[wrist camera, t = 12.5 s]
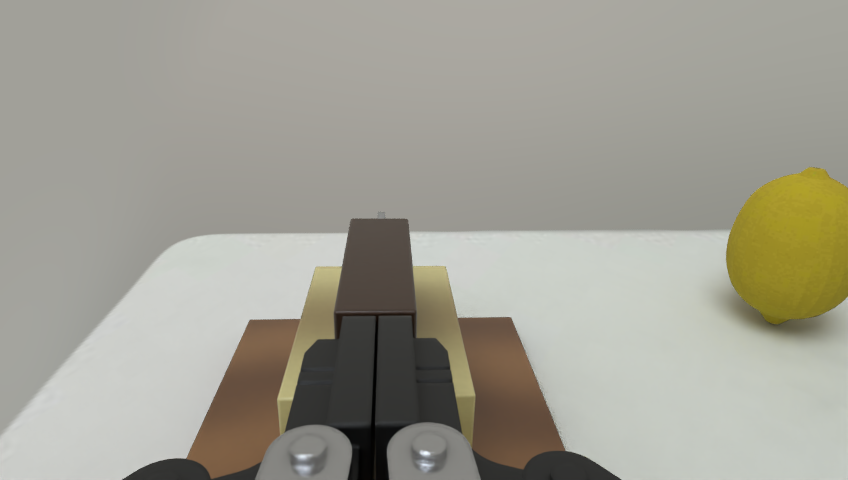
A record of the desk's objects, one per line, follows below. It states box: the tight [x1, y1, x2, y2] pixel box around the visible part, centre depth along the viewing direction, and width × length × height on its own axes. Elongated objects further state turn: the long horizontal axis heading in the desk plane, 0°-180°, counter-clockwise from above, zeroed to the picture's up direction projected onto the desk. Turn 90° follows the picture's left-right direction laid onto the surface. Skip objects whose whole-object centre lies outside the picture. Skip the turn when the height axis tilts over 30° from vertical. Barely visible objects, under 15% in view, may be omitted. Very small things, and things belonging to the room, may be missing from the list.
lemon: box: [726, 167, 848, 324], centre depth 27 cm, size 6×6×8 cm
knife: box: [333, 212, 417, 353], centre depth 18 cm, size 11×2×7 cm, turn 3°
